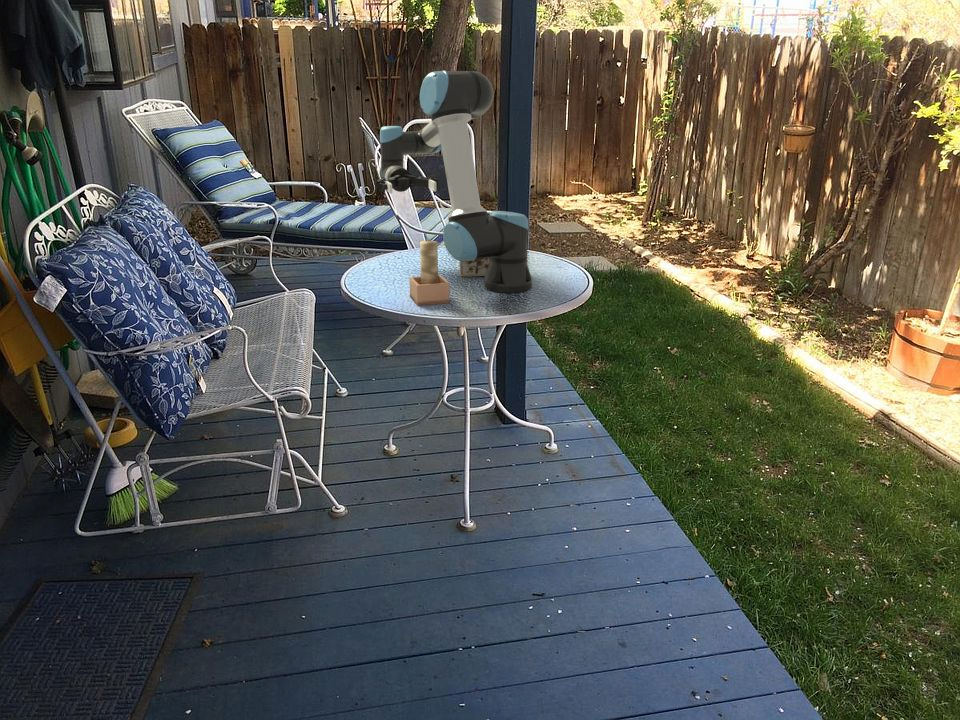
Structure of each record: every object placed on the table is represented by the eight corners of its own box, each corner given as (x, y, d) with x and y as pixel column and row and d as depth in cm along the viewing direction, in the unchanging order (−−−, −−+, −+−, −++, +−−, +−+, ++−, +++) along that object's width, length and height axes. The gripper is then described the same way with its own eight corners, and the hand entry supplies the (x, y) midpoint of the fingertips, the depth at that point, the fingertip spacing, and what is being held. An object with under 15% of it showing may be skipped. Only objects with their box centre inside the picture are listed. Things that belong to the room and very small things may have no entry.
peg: (435, 293, 223) (434, 240, 217) (440, 297, 218) (439, 243, 213) (419, 294, 221) (418, 241, 216) (423, 299, 217) (422, 244, 211)
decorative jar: (495, 268, 255) (496, 216, 248) (495, 277, 244) (496, 222, 238) (460, 268, 255) (460, 215, 249) (458, 277, 244) (458, 222, 238)
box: (441, 294, 226) (440, 274, 223) (449, 303, 217) (449, 283, 215) (409, 296, 223) (409, 277, 221) (417, 305, 214) (416, 285, 212)
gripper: (435, 188, 249) (453, 198, 230) (361, 191, 241) (372, 202, 223) (435, 165, 246) (453, 173, 227) (359, 168, 239) (371, 176, 220)
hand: (413, 187), depth 225 cm, fingers open, 13 cm apart
